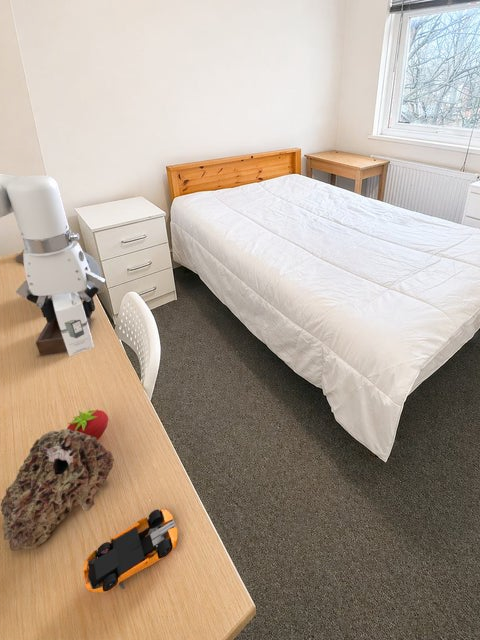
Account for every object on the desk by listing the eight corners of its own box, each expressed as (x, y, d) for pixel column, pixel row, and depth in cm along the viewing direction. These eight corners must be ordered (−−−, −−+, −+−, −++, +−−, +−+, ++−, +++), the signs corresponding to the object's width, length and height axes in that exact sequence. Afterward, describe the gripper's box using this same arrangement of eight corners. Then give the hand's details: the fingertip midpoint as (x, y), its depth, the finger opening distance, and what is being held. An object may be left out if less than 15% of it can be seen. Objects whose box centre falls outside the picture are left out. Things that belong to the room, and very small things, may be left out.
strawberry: (117, 443, 73) (107, 410, 69) (76, 466, 69) (62, 432, 65) (109, 423, 77) (99, 391, 73) (70, 444, 73) (57, 411, 69)
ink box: (63, 335, 79) (49, 291, 74) (87, 327, 82) (75, 284, 77) (68, 357, 73) (54, 311, 68) (95, 347, 76) (82, 303, 71)
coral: (-26, 494, 61) (45, 539, 64) (-50, 534, 50) (36, 586, 53) (68, 401, 70) (125, 445, 73) (65, 418, 59) (133, 469, 62)
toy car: (148, 604, 49) (150, 615, 50) (187, 511, 60) (188, 522, 61) (71, 583, 50) (75, 595, 52) (122, 496, 61) (125, 507, 63)
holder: (40, 355, 96) (35, 342, 94) (56, 324, 107) (52, 312, 105) (79, 349, 98) (75, 336, 96) (91, 320, 110) (88, 307, 108)
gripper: (102, 229, 73) (118, 301, 80) (4, 236, 68) (31, 311, 76) (94, 245, 66) (112, 321, 74) (-15, 253, 62) (16, 333, 69)
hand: (71, 315), depth 75 cm, fingers closed on ink box, 6 cm apart
